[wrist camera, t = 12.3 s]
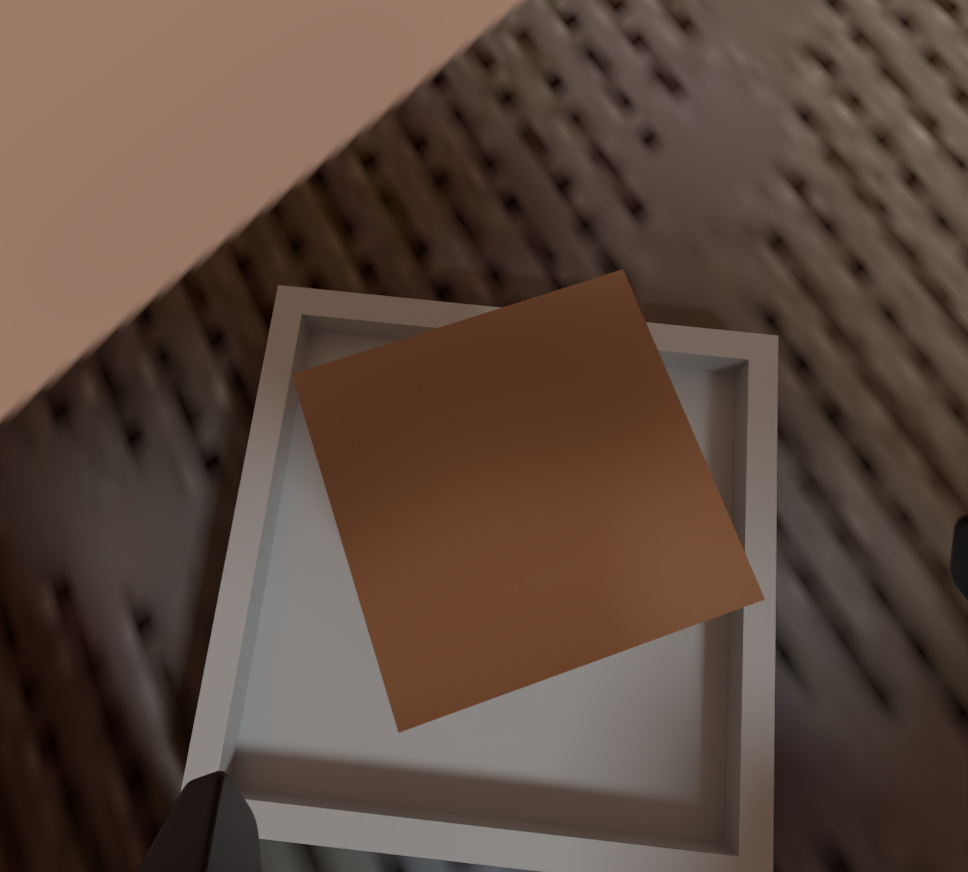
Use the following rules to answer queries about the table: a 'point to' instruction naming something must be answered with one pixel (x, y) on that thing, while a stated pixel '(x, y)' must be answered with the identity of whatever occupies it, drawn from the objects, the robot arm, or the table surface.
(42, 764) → the table surface
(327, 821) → the tray
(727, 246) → the table surface
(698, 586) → the walnut block
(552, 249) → the table surface
